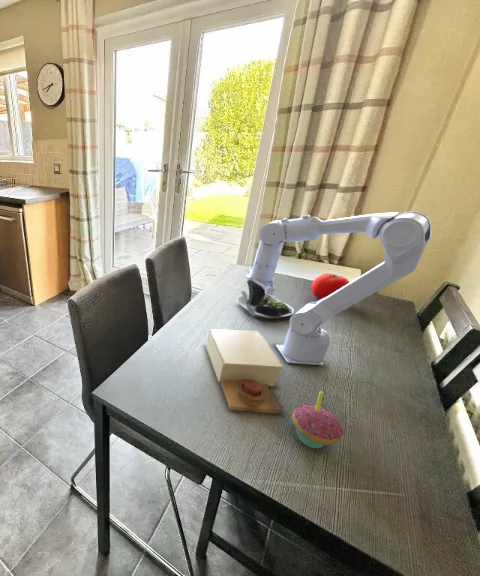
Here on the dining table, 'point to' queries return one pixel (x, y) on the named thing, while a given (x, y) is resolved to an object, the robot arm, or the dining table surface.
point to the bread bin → (238, 369)
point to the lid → (244, 349)
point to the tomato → (327, 285)
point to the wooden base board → (249, 398)
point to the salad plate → (266, 308)
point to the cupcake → (316, 425)
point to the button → (252, 387)
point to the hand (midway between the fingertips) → (253, 304)
